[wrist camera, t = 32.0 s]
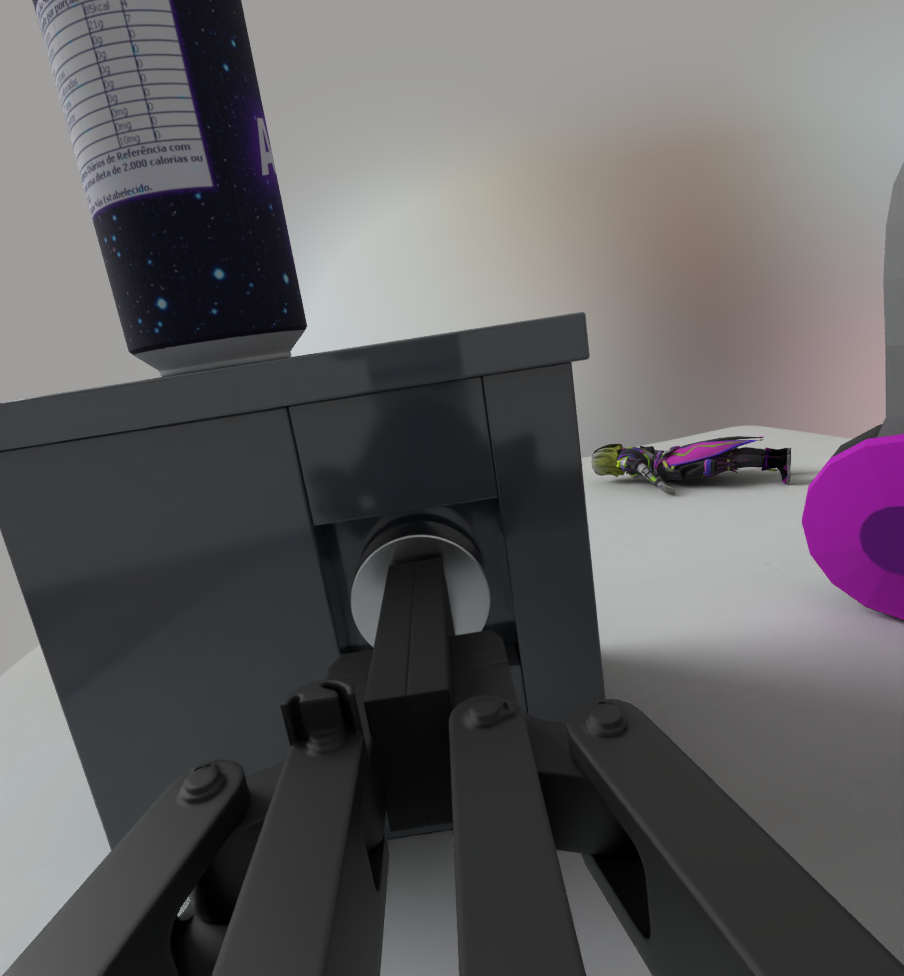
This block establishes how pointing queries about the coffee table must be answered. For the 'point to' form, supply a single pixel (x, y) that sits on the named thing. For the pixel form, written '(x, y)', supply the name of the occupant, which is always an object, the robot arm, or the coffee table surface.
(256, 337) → the beverage can
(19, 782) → the coffee table surface
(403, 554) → the flush button
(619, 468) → the character figure
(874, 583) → the headphones
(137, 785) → the cabinet
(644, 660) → the coffee table surface
